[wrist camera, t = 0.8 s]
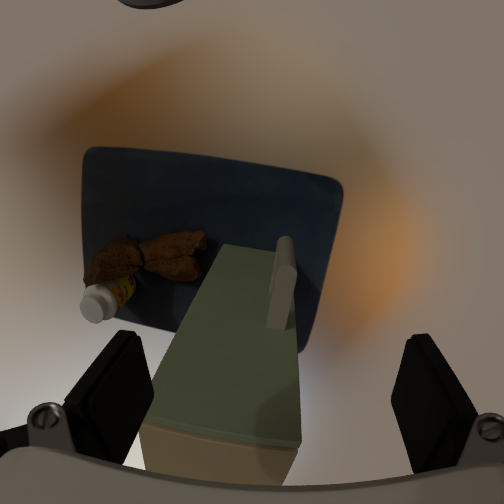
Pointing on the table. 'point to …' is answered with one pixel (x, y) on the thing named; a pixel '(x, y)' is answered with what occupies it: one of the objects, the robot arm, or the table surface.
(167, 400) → the cabinet door
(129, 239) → the sculpture
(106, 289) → the supplement bottle
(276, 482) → the cabinet
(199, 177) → the table surface
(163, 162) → the table surface
